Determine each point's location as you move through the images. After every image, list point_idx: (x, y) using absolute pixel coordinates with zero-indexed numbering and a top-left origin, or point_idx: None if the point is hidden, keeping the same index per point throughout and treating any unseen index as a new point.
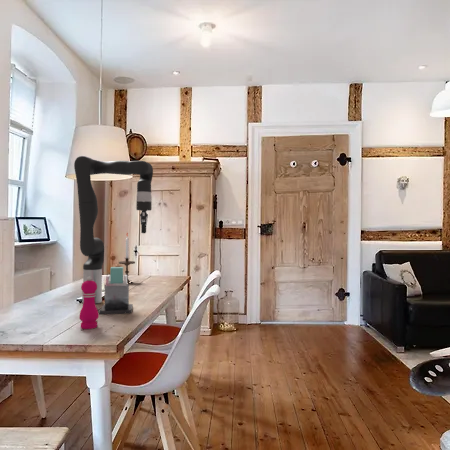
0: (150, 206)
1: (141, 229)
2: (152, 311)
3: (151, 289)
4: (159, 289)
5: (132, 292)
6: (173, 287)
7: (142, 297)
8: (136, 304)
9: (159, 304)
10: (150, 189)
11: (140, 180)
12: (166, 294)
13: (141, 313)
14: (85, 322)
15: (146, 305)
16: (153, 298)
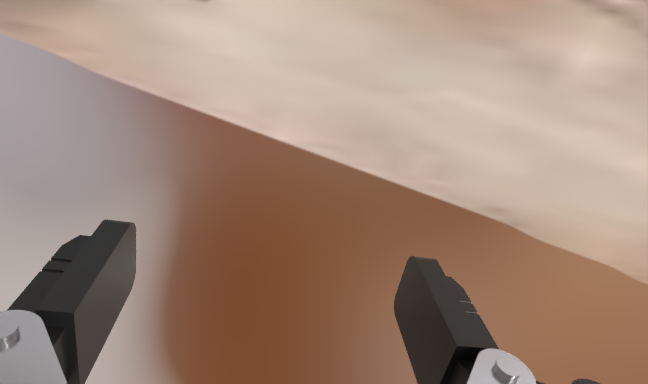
0: None
1: (76, 254)
2: (103, 73)
3: (635, 157)
4: (613, 190)
5: (611, 56)
6: (624, 251)
7: (451, 83)
8: (284, 26)
9: (255, 129)
10: None
11: None
12: (475, 196)
13: (62, 16)
14: None
15: (247, 70)
16: (405, 128)
